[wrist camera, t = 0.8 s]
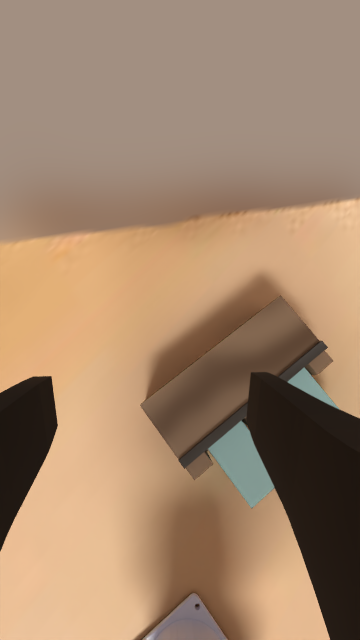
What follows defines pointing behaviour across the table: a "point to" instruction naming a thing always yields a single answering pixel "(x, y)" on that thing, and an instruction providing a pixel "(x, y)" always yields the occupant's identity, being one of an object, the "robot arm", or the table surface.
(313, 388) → the peg far
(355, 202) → the table surface
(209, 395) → the sleeve block
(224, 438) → the peg near
